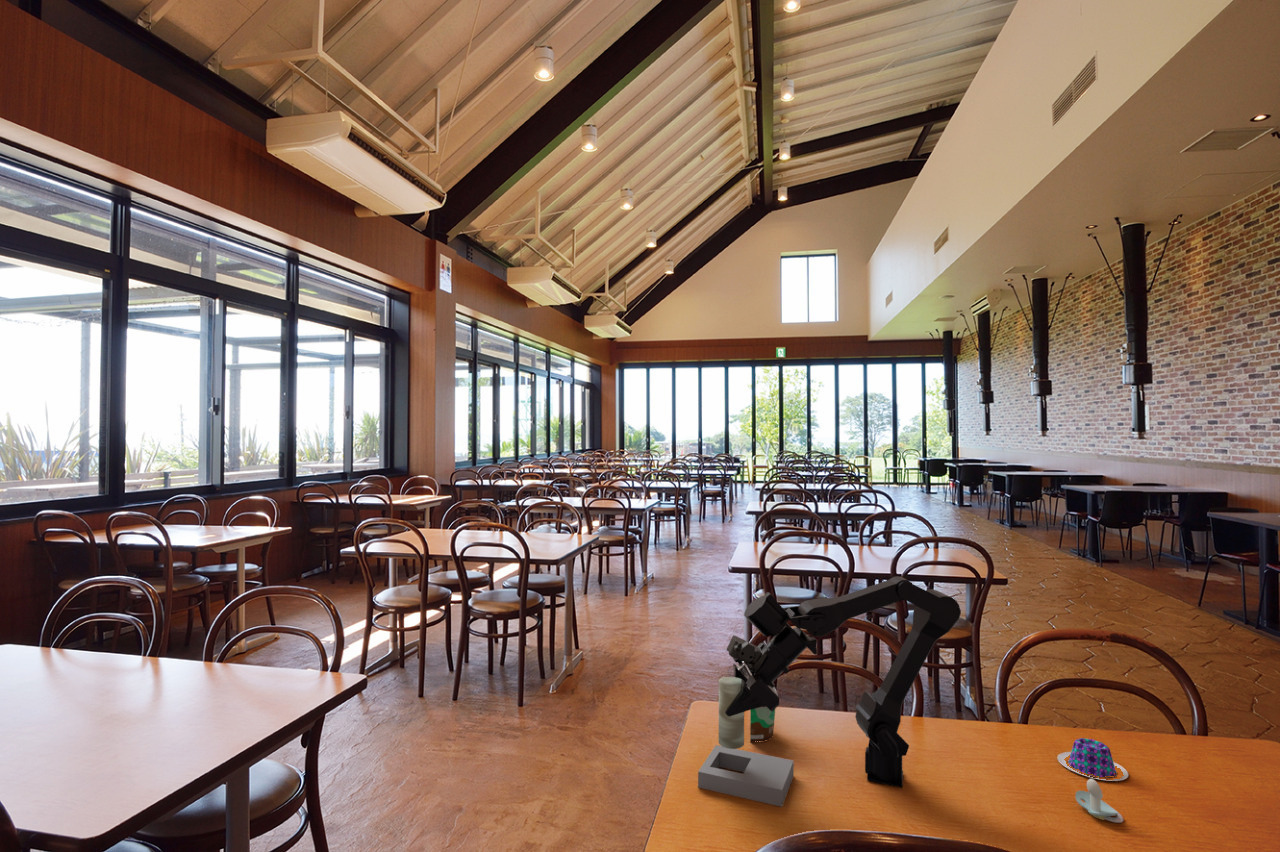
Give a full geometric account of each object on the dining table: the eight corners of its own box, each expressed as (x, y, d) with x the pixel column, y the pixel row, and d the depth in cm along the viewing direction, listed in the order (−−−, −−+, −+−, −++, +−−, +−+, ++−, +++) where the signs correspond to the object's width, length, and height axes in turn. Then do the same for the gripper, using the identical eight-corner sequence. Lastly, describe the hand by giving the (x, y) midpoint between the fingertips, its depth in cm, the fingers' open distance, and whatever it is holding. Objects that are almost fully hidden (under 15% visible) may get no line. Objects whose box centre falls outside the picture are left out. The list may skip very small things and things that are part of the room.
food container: (778, 748, 140) (779, 701, 141) (750, 745, 142) (750, 699, 142) (778, 724, 152) (778, 681, 153) (751, 721, 154) (752, 679, 154)
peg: (746, 739, 129) (747, 679, 129) (740, 750, 124) (740, 687, 125) (722, 735, 131) (722, 675, 131) (715, 745, 126) (715, 683, 127)
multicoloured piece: (1126, 766, 135) (1126, 740, 135) (1130, 791, 125) (1130, 763, 125) (1058, 750, 142) (1058, 725, 142) (1056, 772, 132) (1056, 746, 132)
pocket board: (793, 775, 129) (793, 760, 129) (782, 806, 118) (782, 790, 118) (715, 759, 135) (715, 744, 135) (698, 787, 124) (698, 771, 124)
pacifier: (1101, 804, 120) (1070, 803, 120) (1102, 770, 121) (1071, 769, 120) (1133, 827, 113) (1099, 826, 113) (1134, 791, 113) (1100, 790, 113)
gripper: (742, 611, 138) (690, 663, 137) (762, 637, 119) (702, 698, 118) (779, 648, 138) (727, 701, 137) (804, 681, 119) (744, 742, 119)
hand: (724, 708), depth 128 cm, fingers closed on peg, 5 cm apart
